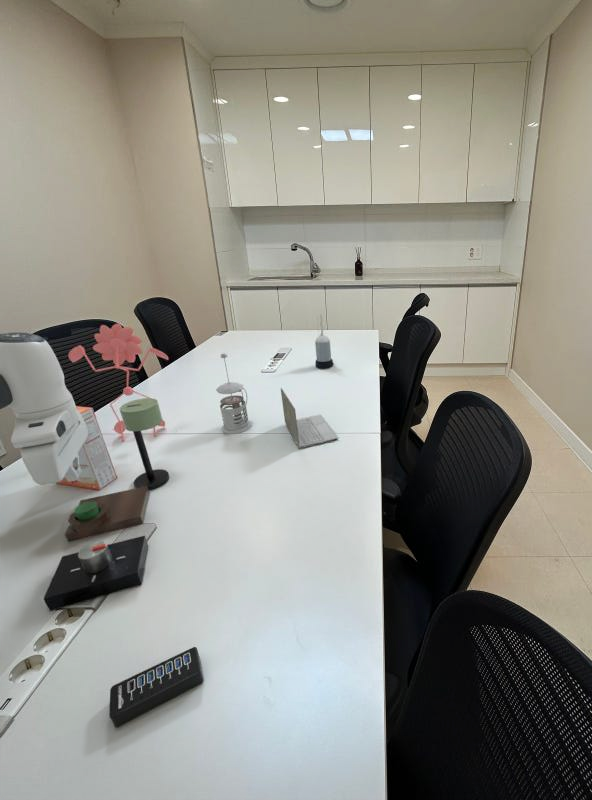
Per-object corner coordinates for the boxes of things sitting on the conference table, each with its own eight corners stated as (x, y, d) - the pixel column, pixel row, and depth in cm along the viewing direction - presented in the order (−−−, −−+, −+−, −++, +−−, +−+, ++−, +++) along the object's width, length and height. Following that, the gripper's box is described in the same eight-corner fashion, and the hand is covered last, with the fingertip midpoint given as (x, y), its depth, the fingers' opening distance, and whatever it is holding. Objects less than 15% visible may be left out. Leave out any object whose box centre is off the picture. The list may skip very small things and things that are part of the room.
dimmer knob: (81, 576, 69) (74, 560, 67) (87, 558, 72) (81, 543, 71) (109, 569, 70) (103, 553, 69) (114, 552, 74) (108, 536, 72)
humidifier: (336, 366, 180) (332, 312, 170) (319, 370, 177) (315, 315, 166) (329, 362, 187) (325, 310, 177) (313, 365, 183) (308, 312, 173)
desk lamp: (132, 494, 95) (106, 416, 86) (137, 477, 102) (113, 402, 93) (176, 484, 98) (155, 408, 90) (178, 468, 105) (159, 396, 96)
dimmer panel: (49, 611, 66) (42, 598, 65) (67, 567, 74) (61, 555, 73) (141, 584, 70) (137, 571, 69) (148, 546, 79) (144, 534, 78)
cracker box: (54, 485, 99) (23, 412, 91) (76, 472, 105) (48, 401, 96) (99, 492, 96) (70, 417, 88) (118, 478, 102) (93, 406, 93)
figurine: (184, 433, 124) (156, 324, 109) (91, 447, 117) (49, 333, 103) (189, 413, 137) (165, 314, 123) (106, 425, 130) (71, 322, 116)
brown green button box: (67, 544, 80) (60, 529, 79) (83, 507, 91) (78, 493, 89) (142, 525, 85) (138, 510, 83) (150, 492, 95) (145, 479, 94)
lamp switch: (74, 523, 81) (71, 515, 80) (80, 511, 84) (77, 503, 83) (97, 517, 82) (94, 510, 81) (101, 506, 85) (98, 499, 85)
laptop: (338, 439, 117) (336, 400, 112) (298, 449, 113) (293, 409, 108) (321, 416, 132) (317, 380, 127) (284, 424, 128) (280, 387, 123)
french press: (214, 431, 124) (198, 357, 114) (236, 416, 134) (223, 346, 124) (241, 435, 121) (227, 359, 111) (261, 419, 131) (250, 348, 121)
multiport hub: (204, 682, 55) (200, 671, 54) (114, 729, 50) (108, 718, 49) (199, 655, 58) (196, 645, 57) (115, 696, 53) (110, 686, 52)
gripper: (48, 399, 82) (72, 455, 87) (5, 445, 64) (38, 511, 70) (83, 394, 84) (104, 449, 89) (51, 437, 66) (79, 502, 72)
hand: (75, 477), depth 79 cm, fingers closed
